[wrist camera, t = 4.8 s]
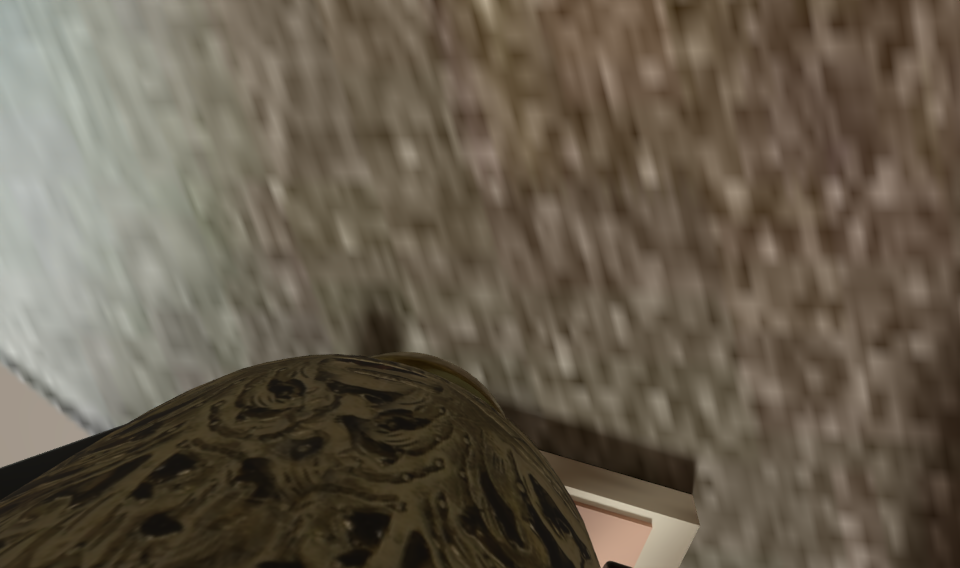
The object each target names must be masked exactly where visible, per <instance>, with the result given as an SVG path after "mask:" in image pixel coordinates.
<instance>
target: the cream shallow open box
mask: <svg viewBox="0 0 960 568" xmlns="http://www.w3.org/2000/svg"><path fill="white" fill-rule="evenodd" d="M539 451H540V452H541V453H542V454H543V456H544V457H545V458H546V459H547V461H548V462H549V464H550V465H551V467H552V468H553V469H554V471H555V472H556V474H557V475H558V477H559V478H560V480H561V481H562V483H563V485H564V486H565V488H566V489H567V491H568V493H569V494H570V496H571V498H572V499H573V501H574V503H575V505H576V507H577V509H578V511H579V513H580V515H581V517H582V519H583V521H584V523H585V526H586V529H587V531H588V534H589V537H590V539H591V542H592V545H593V548H594V550H595V553H596V556H597V558H598V561H599V564H600V567H601V568H602V567H603V566H604V564H605V563H606V562H608V561H614V562H617V563H620V564H623V565H626V566H629V567H632V568H679V566H680V564H681V562H682V560H683V558H684V556H685V554H686V552H687V550H688V548H689V546H690V544H691V542H692V540H693V538H694V536H695V534H696V532H697V531H698V529H699V527H700V524H699V520H698V516H697V511H696V507H695V503H694V499H693V495H691V494H687V493H684V492H680V491H677V490H674V489H670V488H667V487H663V486H660V485H657V484H653V483H650V482H646V481H643V480H640V479H636V478H633V477H629V476H626V475H623V474H619V473H616V472H612V471H609V470H606V469H602V468H599V467H595V466H592V465H589V464H585V463H582V462H578V461H575V460H572V459H568V458H565V457H561V456H558V455H554V454H551V453H548V452H544V451H541V450H539Z"/></svg>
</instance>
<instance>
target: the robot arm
mask: <svg viewBox="0 0 960 568" xmlns="http://www.w3.org/2000/svg"><path fill="white" fill-rule="evenodd" d="M124 425H126V424H124ZM124 425H122V426H124ZM122 426H119V427H116V428H113V429H110V430H107V431H104V432H102V433H99V434H96V435H93V436H90V437H87V438H84V439H82V440H79V441H76V442H73V443H70V444H67V445H65V446H62V447H59V448H56V449H53V450H50V451H47V452H44V453H42V454H39V455H36V456H33V457H30V458H27V459H25V460H22V461H19V462H16V463H13V464H10V465H7V466H4V467H2V468H0V500H2V499H4V498H5V497H7V496H8V495H10V494H12V493H13V492H15V491H16V490H18V489H20V488H21V487H23V486H24V485H26V484H28V483H29V482H31V481H33V480H34V479H36V478H37V477H39V476H41V475H42V474H44V473H46V472H47V471H49V470H50V469H52V468H54V467H55V466H57V465H59V464H60V463H62V462H63V461H65V460H67V459H68V458H70V457H72V456H73V455H75V454H76V453H78V452H80V451H81V450H83V449H85V448H86V447H88V446H90V445H92V444H93V443H95V442H97V441H98V440H100V439H102V438H103V437H105V436H107V435H109V434H110V433H112V432H114V431H115V430H117V429H119V428H121V427H122ZM602 568H632V567H629V566H626V565H623V564H620V563H617V562H614V561H608V562H606V563H605V564H604V566H603V567H602Z"/></svg>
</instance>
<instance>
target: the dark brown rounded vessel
mask: <svg viewBox="0 0 960 568" xmlns="http://www.w3.org/2000/svg"><path fill="white" fill-rule="evenodd" d="M0 568H601V567H600V564H599V561H598V558H597V556H596V553H595V550H594V548H593V545H592V542H591V539H590V537H589V534H588V531H587V529H586V526H585V523H584V521H583V519H582V517H581V515H580V513H579V511H578V509H577V507H576V505H575V503H574V501H573V499H572V498H571V496H570V494H569V493H568V491H567V489H566V488H565V486H564V485H563V483H562V481H561V480H560V478H559V477H558V475H557V474H556V472H555V471H554V469H553V468H552V467H551V465H550V464H549V462H548V461H547V459H546V458H545V457H544V456H543V454H542V453H541V452H540V451H539V450H538V449H537V447H536V446H535V445H534V444H533V443H532V442H531V440H530V439H529V438H528V437H526V436H525V435H524V434H523V433H522V432H521V431H520V430H519V429H518V428H517V427H516V426H515V425H514V424H513V423H512V422H511V421H509V420H508V419H507V418H506V416H505V415H504V413H503V411H502V409H501V407H500V406H499V404H498V403H497V401H496V400H495V398H494V397H493V395H492V394H491V393H490V392H489V391H488V390H487V388H486V387H485V386H484V385H483V384H482V383H480V382H479V381H478V380H477V379H476V378H475V377H473V376H472V375H471V374H470V373H468V372H467V371H465V370H463V369H462V368H460V367H459V366H457V365H455V364H453V363H451V362H449V361H446V360H443V359H441V358H438V357H435V356H431V355H427V354H422V353H415V352H391V353H384V354H378V355H374V356H371V357H364V356H353V355H340V354H329V355H308V356H302V357H295V358H288V359H282V360H277V361H271V362H266V363H262V364H258V365H255V366H251V367H247V368H243V369H240V370H238V371H235V372H233V373H230V374H228V375H225V376H223V377H220V378H218V379H216V380H213V381H211V382H208V383H206V384H203V385H201V386H198V387H196V388H193V389H191V390H189V391H186V392H185V393H183V394H181V395H179V396H177V397H175V398H173V399H171V400H169V401H167V402H165V403H163V404H161V405H159V406H157V407H156V408H154V409H152V410H150V411H148V412H146V413H145V414H143V415H141V416H139V417H138V418H136V419H134V420H133V421H131V422H129V423H127V424H126V425H124V426H122V427H121V428H119V429H117V430H115V431H114V432H112V433H110V434H109V435H107V436H105V437H103V438H102V439H100V440H98V441H97V442H95V443H93V444H92V445H90V446H88V447H86V448H85V449H83V450H81V451H80V452H78V453H76V454H75V455H73V456H72V457H70V458H68V459H67V460H65V461H63V462H62V463H60V464H59V465H57V466H55V467H54V468H52V469H50V470H49V471H47V472H46V473H44V474H42V475H41V476H39V477H37V478H36V479H34V480H33V481H31V482H29V483H28V484H26V485H24V486H23V487H21V488H20V489H18V490H16V491H15V492H13V493H12V494H10V495H8V496H7V497H5V498H4V499H2V500H0Z"/></svg>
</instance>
